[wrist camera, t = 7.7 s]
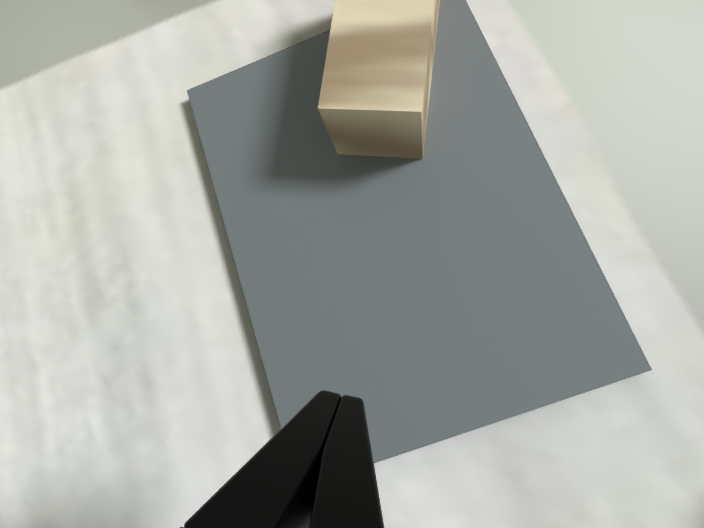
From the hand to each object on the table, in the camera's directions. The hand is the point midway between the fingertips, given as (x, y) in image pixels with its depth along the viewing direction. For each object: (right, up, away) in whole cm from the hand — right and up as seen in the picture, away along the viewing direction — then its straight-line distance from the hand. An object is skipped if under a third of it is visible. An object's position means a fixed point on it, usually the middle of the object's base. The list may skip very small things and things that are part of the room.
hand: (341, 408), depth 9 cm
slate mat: (+2, +6, +15) cm, 16 cm away
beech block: (+1, +9, +13) cm, 16 cm away
